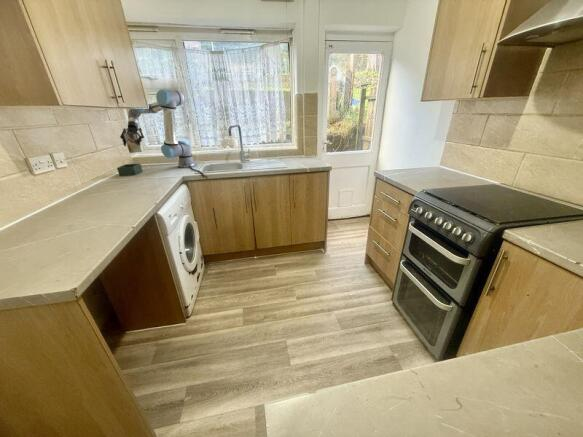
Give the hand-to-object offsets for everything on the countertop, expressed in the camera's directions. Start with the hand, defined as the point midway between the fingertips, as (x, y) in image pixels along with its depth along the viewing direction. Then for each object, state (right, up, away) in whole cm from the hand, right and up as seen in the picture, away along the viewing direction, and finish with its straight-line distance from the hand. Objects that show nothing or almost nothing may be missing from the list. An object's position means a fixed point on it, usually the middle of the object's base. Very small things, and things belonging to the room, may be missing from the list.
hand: (131, 144), depth 206 cm
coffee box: (0, -5, +5) cm, 8 cm away
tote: (-3, -24, +4) cm, 24 cm away
